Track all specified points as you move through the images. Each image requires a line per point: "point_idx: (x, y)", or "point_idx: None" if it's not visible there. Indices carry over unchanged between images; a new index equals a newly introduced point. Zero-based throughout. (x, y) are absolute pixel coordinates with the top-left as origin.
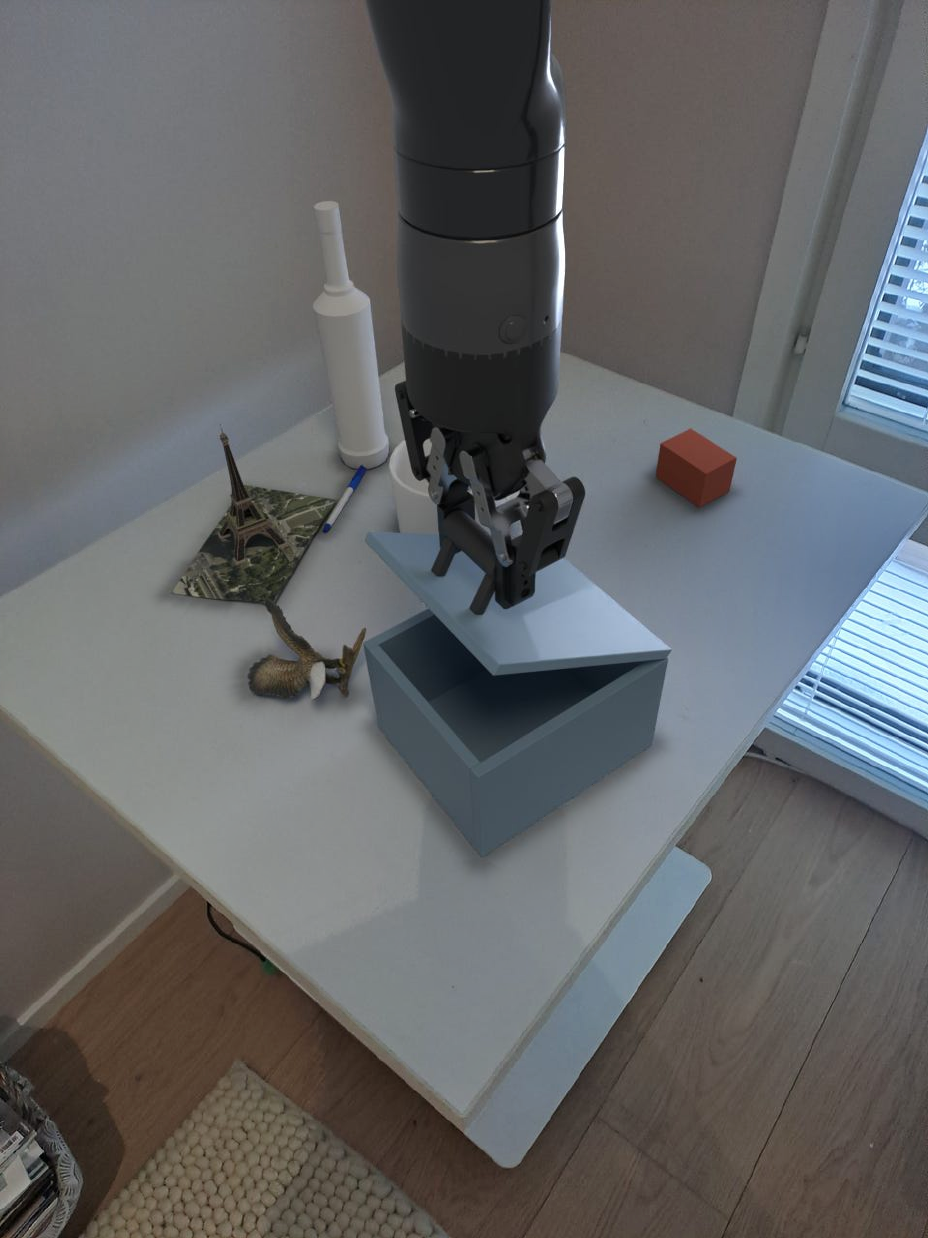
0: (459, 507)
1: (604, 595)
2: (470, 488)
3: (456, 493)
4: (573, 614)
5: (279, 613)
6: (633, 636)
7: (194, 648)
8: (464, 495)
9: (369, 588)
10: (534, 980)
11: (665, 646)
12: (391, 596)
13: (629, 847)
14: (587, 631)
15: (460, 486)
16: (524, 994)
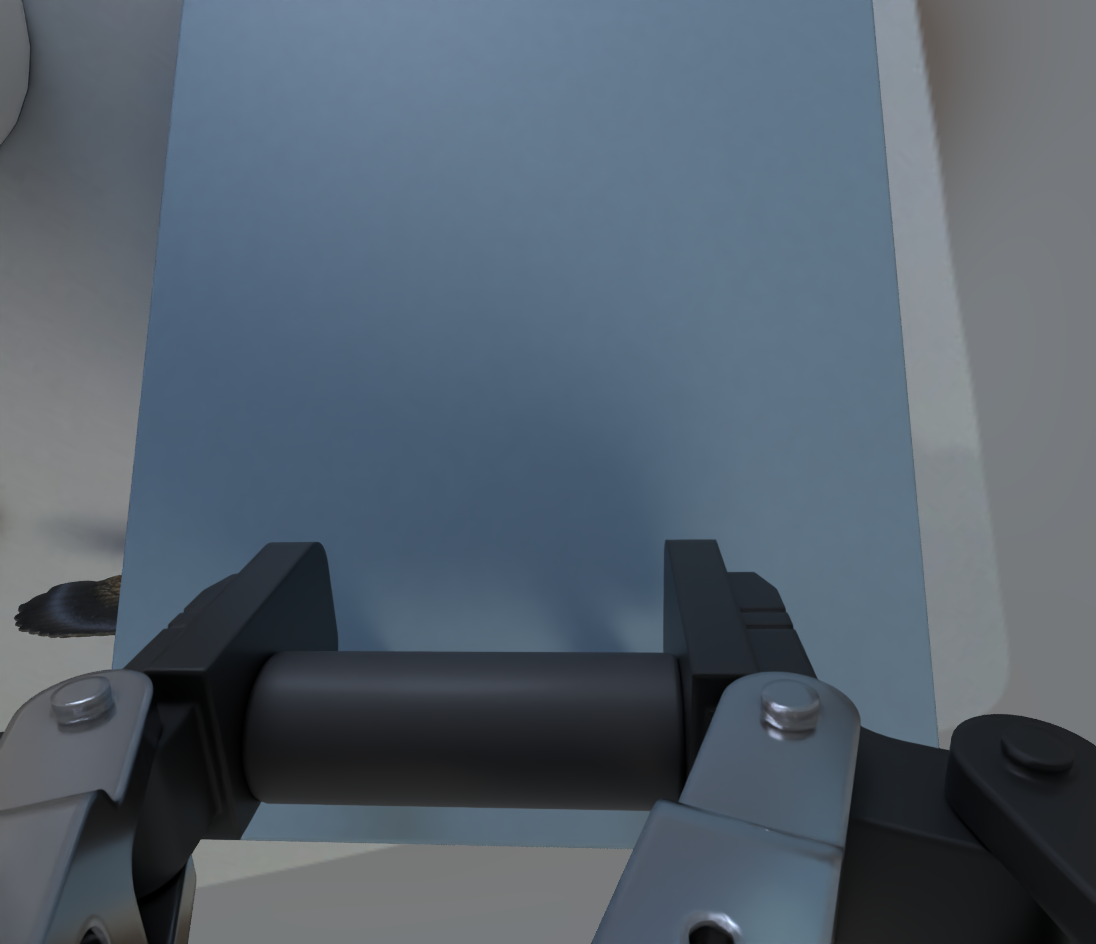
0: (232, 740)
1: None
2: (154, 704)
3: (174, 805)
4: (655, 231)
5: (82, 636)
6: (790, 54)
7: (52, 673)
8: (185, 734)
9: (22, 326)
10: (962, 548)
11: None
12: (67, 297)
13: (906, 264)
14: (756, 249)
15: (146, 803)
16: (966, 571)
